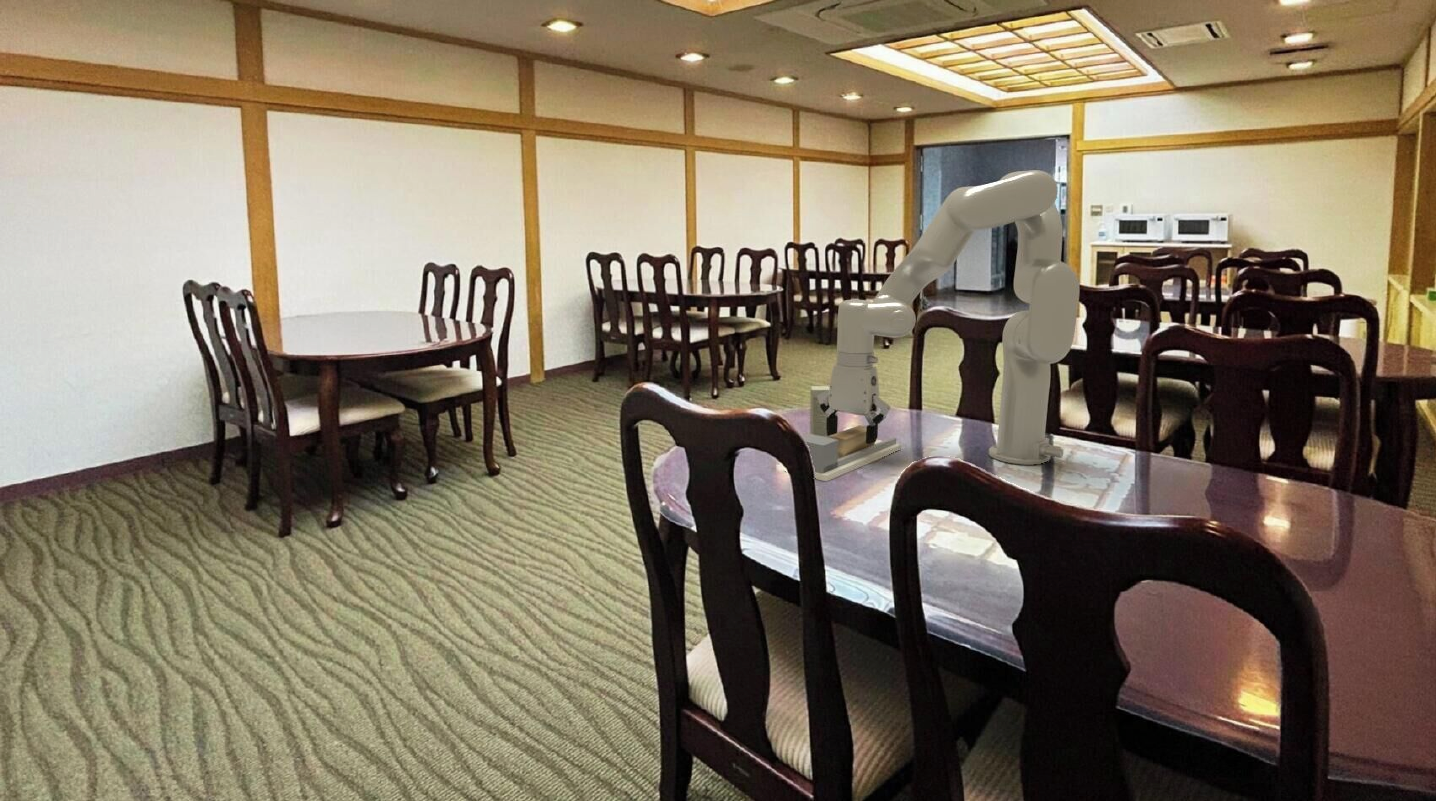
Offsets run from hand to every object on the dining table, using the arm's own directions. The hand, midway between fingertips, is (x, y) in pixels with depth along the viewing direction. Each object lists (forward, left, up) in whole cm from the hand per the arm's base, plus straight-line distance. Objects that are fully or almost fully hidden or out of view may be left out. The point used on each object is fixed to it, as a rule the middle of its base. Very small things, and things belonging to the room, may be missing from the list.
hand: (851, 438), depth 183 cm
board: (0, +2, -4) cm, 5 cm away
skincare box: (+13, -9, -4) cm, 16 cm away
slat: (0, 0, -3) cm, 3 cm away
